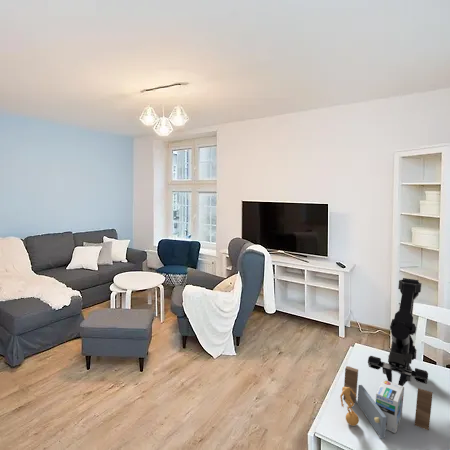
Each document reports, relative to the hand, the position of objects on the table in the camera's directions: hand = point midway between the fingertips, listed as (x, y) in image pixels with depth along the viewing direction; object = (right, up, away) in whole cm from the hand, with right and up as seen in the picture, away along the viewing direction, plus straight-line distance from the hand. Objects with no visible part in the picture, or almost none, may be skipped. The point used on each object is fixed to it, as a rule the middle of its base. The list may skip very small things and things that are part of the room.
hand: (393, 393), depth 111 cm
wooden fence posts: (-3, -6, 0) cm, 7 cm away
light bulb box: (-4, -7, -4) cm, 9 cm away
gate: (-11, -6, -4) cm, 13 cm away
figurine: (-17, -7, -5) cm, 19 cm away
